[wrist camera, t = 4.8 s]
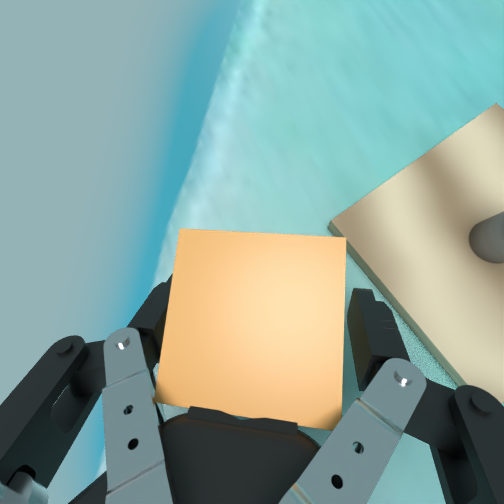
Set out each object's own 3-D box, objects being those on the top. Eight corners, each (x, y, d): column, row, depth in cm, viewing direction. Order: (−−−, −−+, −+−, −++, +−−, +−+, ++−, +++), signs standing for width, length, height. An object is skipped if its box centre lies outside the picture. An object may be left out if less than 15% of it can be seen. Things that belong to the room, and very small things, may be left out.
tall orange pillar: (315, 275, 18) (346, 237, 8) (311, 360, 17) (341, 432, 7) (236, 269, 19) (179, 228, 9) (227, 350, 18) (153, 402, 8)
